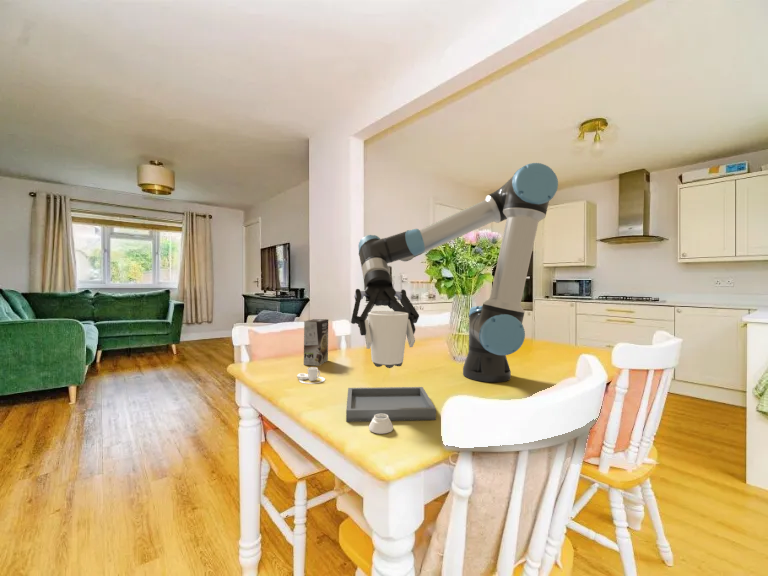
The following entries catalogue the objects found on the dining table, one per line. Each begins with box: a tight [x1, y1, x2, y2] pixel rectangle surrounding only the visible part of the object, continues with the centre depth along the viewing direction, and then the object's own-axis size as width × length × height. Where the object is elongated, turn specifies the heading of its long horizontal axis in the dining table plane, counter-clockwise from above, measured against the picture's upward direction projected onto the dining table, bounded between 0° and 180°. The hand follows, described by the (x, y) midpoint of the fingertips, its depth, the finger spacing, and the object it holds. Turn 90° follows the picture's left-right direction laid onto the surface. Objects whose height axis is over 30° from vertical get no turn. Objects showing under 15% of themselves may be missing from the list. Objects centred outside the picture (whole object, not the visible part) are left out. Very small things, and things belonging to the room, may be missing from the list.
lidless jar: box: [368, 414, 394, 435], centre depth 72 cm, size 5×3×5 cm
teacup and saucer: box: [296, 366, 326, 385], centre depth 107 cm, size 9×8×4 cm
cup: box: [367, 310, 408, 369], centre depth 84 cm, size 10×10×13 cm
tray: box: [345, 386, 437, 423], centre depth 84 cm, size 20×16×2 cm
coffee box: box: [303, 318, 329, 367], centre depth 129 cm, size 9×6×16 cm
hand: (391, 344), depth 81 cm, fingers closed on cup, 10 cm apart
